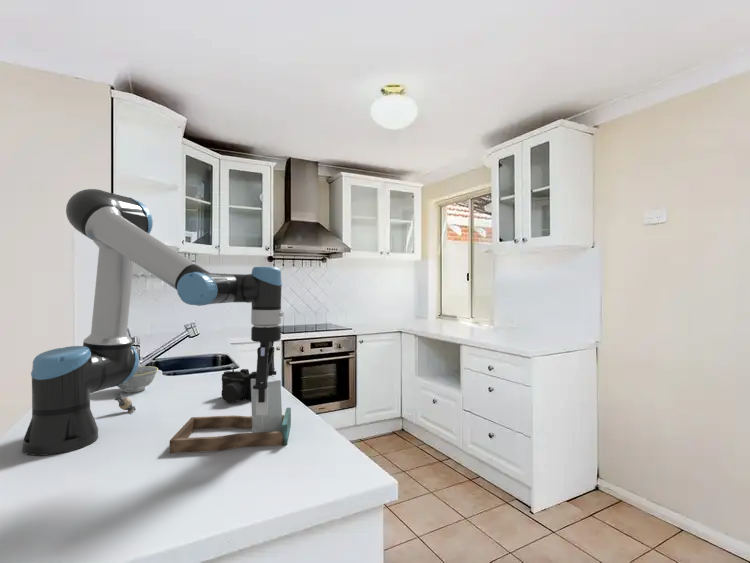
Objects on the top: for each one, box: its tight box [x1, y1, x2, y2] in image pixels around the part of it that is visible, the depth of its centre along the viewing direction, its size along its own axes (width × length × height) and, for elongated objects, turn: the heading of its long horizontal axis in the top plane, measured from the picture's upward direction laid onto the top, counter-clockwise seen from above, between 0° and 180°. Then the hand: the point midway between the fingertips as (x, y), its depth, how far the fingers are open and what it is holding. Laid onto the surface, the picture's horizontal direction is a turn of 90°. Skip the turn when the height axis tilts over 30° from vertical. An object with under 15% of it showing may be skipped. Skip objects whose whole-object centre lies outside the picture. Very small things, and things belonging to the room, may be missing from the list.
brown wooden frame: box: [169, 407, 292, 454], centre depth 109 cm, size 27×17×5 cm, turn 98°
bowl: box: [116, 365, 159, 393], centre depth 158 cm, size 16×16×8 cm
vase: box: [113, 393, 136, 415], centre depth 130 cm, size 5×5×6 cm
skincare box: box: [250, 375, 283, 433], centre depth 111 cm, size 8×6×15 cm
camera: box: [221, 368, 256, 404], centre depth 144 cm, size 14×11×10 cm
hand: (265, 406), depth 110 cm, fingers open, 13 cm apart
